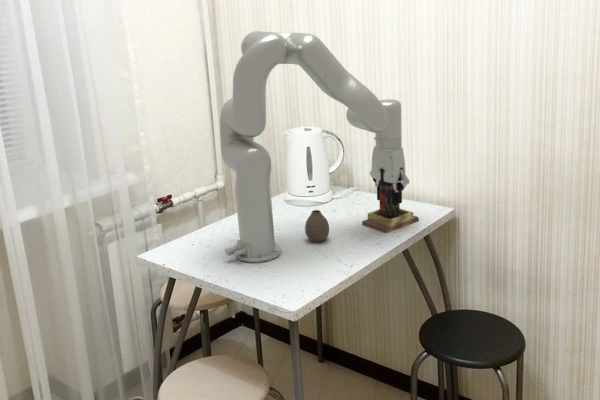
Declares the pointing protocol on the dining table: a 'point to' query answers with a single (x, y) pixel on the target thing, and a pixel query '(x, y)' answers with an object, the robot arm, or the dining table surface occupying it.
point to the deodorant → (387, 199)
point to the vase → (317, 227)
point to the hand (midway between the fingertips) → (389, 200)
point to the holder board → (389, 221)
